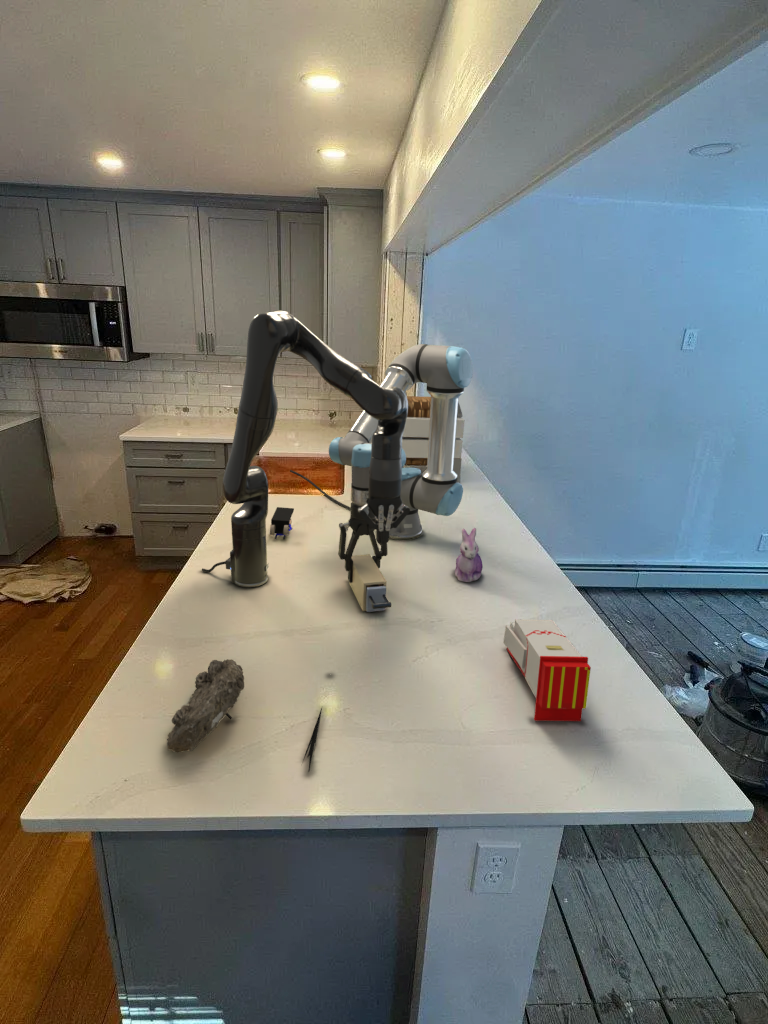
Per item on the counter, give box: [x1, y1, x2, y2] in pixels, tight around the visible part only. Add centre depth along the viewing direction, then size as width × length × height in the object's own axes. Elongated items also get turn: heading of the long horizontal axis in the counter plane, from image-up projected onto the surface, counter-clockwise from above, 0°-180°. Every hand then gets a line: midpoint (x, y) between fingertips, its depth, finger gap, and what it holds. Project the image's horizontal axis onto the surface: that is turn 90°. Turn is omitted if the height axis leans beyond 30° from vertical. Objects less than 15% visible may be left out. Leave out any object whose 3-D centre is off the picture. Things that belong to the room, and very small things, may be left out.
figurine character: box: [269, 506, 295, 540], centre depth 194 cm, size 7×8×15 cm
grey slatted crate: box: [402, 390, 465, 483], centre depth 268 cm, size 34×33×41 cm
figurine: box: [454, 527, 484, 583], centre depth 168 cm, size 9×10×15 cm
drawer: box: [365, 584, 392, 613], centre depth 150 cm, size 22×5×6 cm, turn 16°
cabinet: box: [347, 553, 388, 612], centre depth 155 cm, size 17×6×8 cm, turn 16°
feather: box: [301, 673, 332, 771], centre depth 108 cm, size 2×28×2 cm
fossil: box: [166, 658, 245, 754], centre depth 106 cm, size 22×10×15 cm
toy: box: [503, 618, 592, 722], centre depth 122 cm, size 12×13×30 cm
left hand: (382, 543), depth 137 cm, fingers closed
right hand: (362, 579), depth 160 cm, fingers closed on cabinet, 6 cm apart
